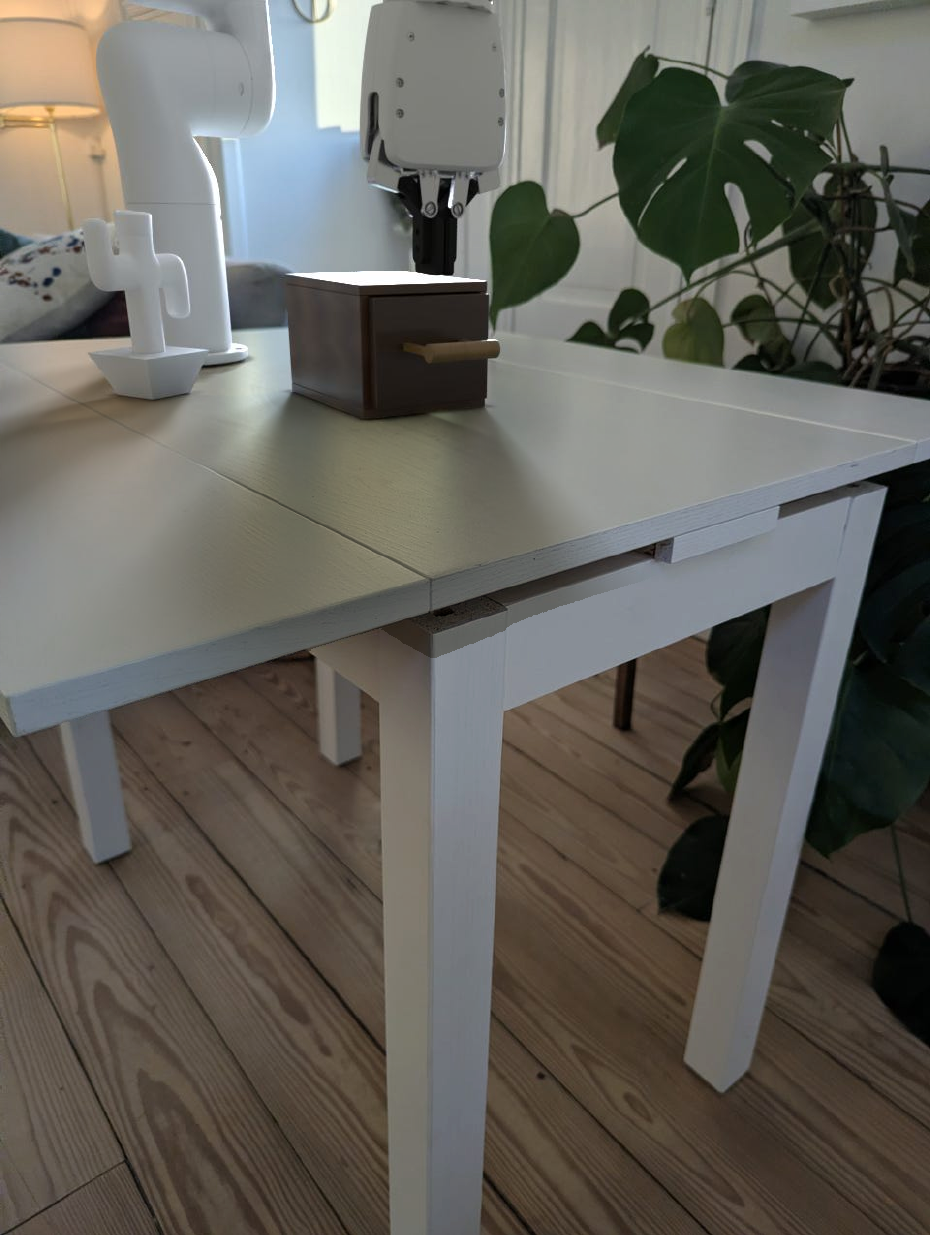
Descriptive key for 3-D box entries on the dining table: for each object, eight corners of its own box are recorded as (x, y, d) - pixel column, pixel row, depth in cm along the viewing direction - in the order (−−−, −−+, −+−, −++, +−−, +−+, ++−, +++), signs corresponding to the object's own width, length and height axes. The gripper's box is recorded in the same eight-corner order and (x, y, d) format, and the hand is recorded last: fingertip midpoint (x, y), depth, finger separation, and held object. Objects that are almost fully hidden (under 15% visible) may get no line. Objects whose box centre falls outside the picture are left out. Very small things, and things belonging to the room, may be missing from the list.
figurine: (221, 390, 83) (205, 211, 77) (141, 406, 76) (116, 209, 70) (165, 382, 87) (145, 210, 81) (83, 397, 79) (54, 209, 73)
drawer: (521, 408, 72) (525, 298, 69) (407, 421, 67) (406, 303, 64) (408, 375, 87) (407, 283, 83) (307, 384, 81) (301, 286, 78)
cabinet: (485, 406, 78) (487, 281, 74) (363, 419, 72) (359, 284, 68) (402, 381, 89) (401, 271, 85) (292, 391, 83) (284, 273, 79)
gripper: (497, 9, 68) (488, 269, 76) (313, -20, 61) (323, 272, 69) (558, -7, 63) (542, 277, 70) (364, -41, 55) (369, 280, 63)
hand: (434, 274), depth 69 cm, fingers closed
